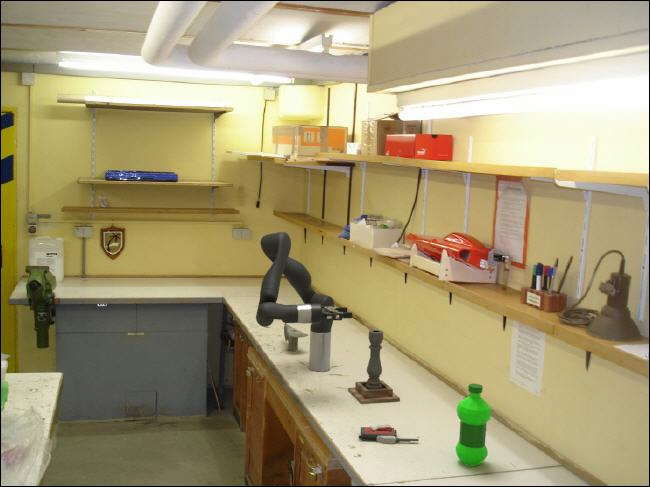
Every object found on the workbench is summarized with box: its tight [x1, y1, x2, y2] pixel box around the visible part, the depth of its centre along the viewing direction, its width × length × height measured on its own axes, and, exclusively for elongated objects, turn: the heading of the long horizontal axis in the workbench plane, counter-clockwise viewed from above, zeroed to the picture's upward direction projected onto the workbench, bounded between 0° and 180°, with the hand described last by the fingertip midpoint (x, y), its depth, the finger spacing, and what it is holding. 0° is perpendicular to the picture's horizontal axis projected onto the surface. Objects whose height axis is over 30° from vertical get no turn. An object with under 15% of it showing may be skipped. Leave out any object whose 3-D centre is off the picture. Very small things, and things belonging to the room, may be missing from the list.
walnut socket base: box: [347, 379, 401, 405], centre depth 290 cm, size 16×16×4 cm
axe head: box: [283, 323, 309, 352], centre depth 355 cm, size 27×10×10 cm, turn 20°
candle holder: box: [366, 329, 384, 390], centre depth 288 cm, size 6×6×25 cm
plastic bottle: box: [455, 383, 492, 467], centre depth 228 cm, size 10×10×25 cm
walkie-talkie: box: [358, 424, 420, 445], centre depth 247 cm, size 9×4×20 cm
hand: (349, 312), depth 283 cm, fingers open, 8 cm apart
